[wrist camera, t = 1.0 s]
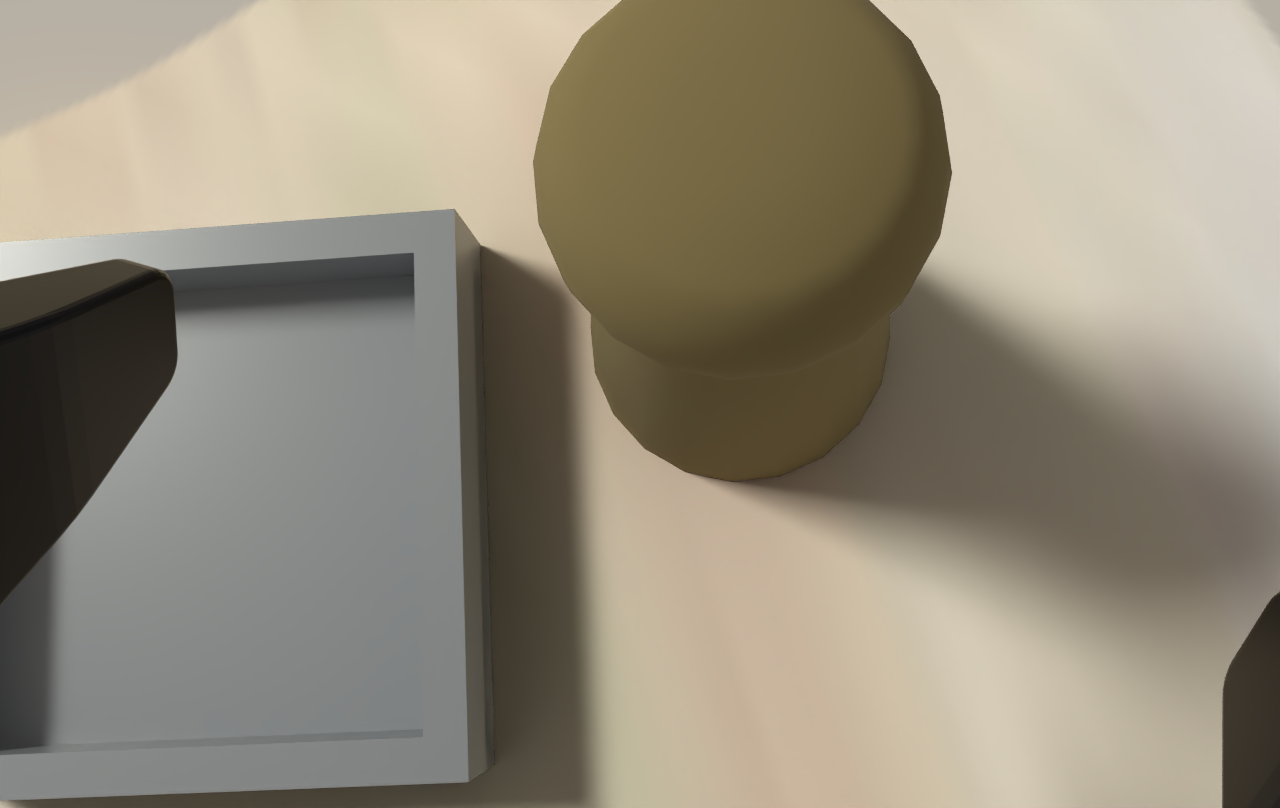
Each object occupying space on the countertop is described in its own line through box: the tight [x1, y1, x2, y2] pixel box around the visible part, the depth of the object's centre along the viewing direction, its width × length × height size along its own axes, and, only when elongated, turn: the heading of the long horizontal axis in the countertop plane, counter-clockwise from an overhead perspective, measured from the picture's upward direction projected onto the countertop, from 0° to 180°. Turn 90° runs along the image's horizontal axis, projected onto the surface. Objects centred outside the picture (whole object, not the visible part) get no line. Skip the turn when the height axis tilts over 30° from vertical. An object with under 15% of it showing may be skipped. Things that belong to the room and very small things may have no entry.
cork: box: [533, 0, 952, 481], centre depth 19 cm, size 6×6×11 cm
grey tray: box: [0, 209, 495, 801], centre depth 23 cm, size 10×10×2 cm
